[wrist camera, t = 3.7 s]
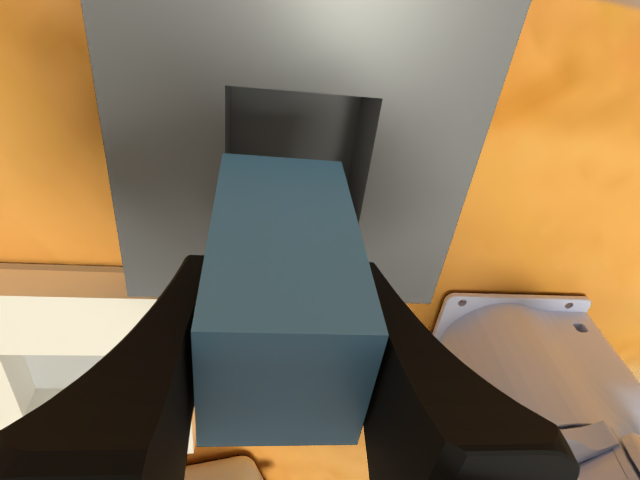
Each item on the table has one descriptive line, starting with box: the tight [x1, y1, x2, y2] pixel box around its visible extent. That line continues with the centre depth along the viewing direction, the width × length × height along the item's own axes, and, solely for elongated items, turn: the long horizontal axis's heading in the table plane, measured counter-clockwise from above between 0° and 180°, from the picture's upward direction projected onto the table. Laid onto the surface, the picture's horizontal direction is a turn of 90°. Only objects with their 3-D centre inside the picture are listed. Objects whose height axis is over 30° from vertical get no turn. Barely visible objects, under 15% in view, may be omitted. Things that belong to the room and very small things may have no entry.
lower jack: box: [0, 263, 196, 454], centre depth 28 cm, size 14×14×2 cm
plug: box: [191, 153, 389, 447], centre depth 14 cm, size 4×5×8 cm
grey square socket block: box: [81, 0, 531, 304], centre depth 20 cm, size 14×14×4 cm
